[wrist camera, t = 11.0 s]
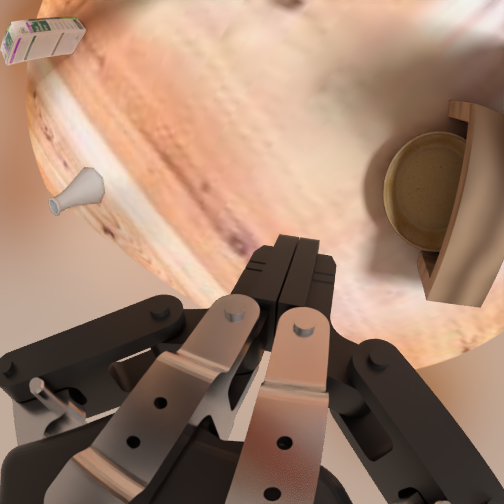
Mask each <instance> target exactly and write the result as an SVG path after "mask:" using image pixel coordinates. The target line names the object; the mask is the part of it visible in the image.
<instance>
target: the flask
mask: <svg viewBox="0 0 504 504" xmlns="http://www.w3.org/2000/svg"><path fill="white" fill-rule="evenodd" d="M104 193H105V191H104V184H103V178H102V176H101V175H100V174H99V173H98V172H97V171H96V170H95V169H94V168H86V167H84V168H83V169H82V170H81V171H80V173H79V174H78V175H77V176H76V177H75V179H74V180H73V181H72V182H71V183H70V184H69V185H68V187H67V188H66V189H65V190H64V191H63V192H61V193H60V194H59V195H58V196H56V197H54V198H49V207H50V210H51V212H52V213H53V214H54V215H57V216H58V215H59V214H60V212H61V211H63V210H65V209H67V208H70V207H72V206H77V205H84V204H93V203H101V201H102V198H103V195H104Z"/></svg>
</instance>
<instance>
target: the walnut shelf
mask: <svg viewBox="0 0 504 504" xmlns="http://www.w3.org/2000/svg"><path fill="white" fill-rule="evenodd" d="M448 116H449V117H452V118H455V119H458V120H461V121H464V122H467V123H468V131H467V139H466V146H465V153H464V159H463V165H462V171H461V176H460V181H459V185H458V190H457V194H456V198H455V202H454V206H453V210H452V214H451V218H450V221H449V225H448V228H447V231H446V235H445V238H444V241H443V244H442V247H441V250H440V253H439V255H436V254H430V253H425V252H421V253H420V256H419V259H418V262H417V266H418V270H419V273H420V277H421V281H422V284H423V288H424V292H425V296H426V300H428V301H435V302H442V303H449V304H457V305H464V306H472V307H481V306H482V304H483V302H484V300H485V298H486V296H487V294H488V292H489V290H490V288H491V286H492V284H493V282H494V280H495V278H496V276H497V274H498V272H499V269H500V267H501V265H502V263H503V260H504V115H503V114H501V113H499V112H496V111H494V110H492V109H489V108H487V107H484V106H482V105H479V104H477V103H470V102H462V101H452V100H449V113H448Z"/></svg>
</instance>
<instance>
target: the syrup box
mask: <svg viewBox="0 0 504 504" xmlns="http://www.w3.org/2000/svg"><path fill="white" fill-rule="evenodd" d="M86 31H87V30H86V29H85V28H84V26H83V25H82V23H81V22H80V21H79V20H78V19H77V17H55V18H39V19H29V20H21V21H14V22H11V23H10V25H9V27H8V29H7V31H6V33H5V35H4V38H3V41H2V45H1V48H0V50H1V52H2V54H3V58H4V60H5V63H6V65H7V66H8V65H12V64H16V63H20V62H25V61H30V60H35V59H41V58H46V57H53V56H60V55H68V54H73V52H74V51H75V49H76V47H77V46H78V44H79V43H80V41H81V39H82V38H83V36H84V34H85V33H86Z"/></svg>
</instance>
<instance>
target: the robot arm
mask: <svg viewBox="0 0 504 504" xmlns="http://www.w3.org/2000/svg"><path fill="white" fill-rule="evenodd" d="M319 242H320V240H314V239H308V238H301V237H300V240H299V237H295V236H288V235H281V234H280V235H279V236H278V239H277V241H276V243H275V245H274V247H273V246H267V245H263V246H262V247H260V248H259V249H257V250H256V251H255V252H254V253H253V255H252V257H251V258H250V261H249V262H248V264H247V266H246V268H245V269H244V271H243V273H242V275H241V276H240V278H239V280H238V282H237V283H236V285H235V287H234V289H233V291H232V292H231V294H230V295H226V296H223V297H221V298H219V299H218V300H216V301H215V302H214V303H213V304H212V306H211V307H210V308H208V309H183V305H182V303H181V301H180V300H179V299H178V298H176V297H174V296H171V295H158V296H154V297H151V298H149V299H146V300H143V301H141V302H138V303H136V304H133V305H130V306H128V307H125V308H123V309H120V310H118V311H115V312H112V313H110V314H107V315H105V316H102V317H100V318H97V319H94V320H92V321H89V322H87V323H84V324H82V325H79V326H76V327H74V328H71V329H69V330H66V331H63V332H61V333H58V334H56V335H53V336H50V337H48V338H45V339H43V340H40V341H37V342H35V343H32V344H30V345H27V346H24V347H22V348H19V349H16V350H14V351H11V352H8V353H6V354H5V355H4V356H2V357H1V358H0V387H1V388H2V389H3V390H4V391H5V392H6V393H7V394H8V395H9V396H10V397H11V398H12V401H13V412H14V422H15V429H16V436H17V443H18V446H17V447H16V448H14V449H12V450H11V451H10V452H9V453H8V455H7V456H6V457H5V459H4V461H3V464H2V468H1V482H0V483H1V484H0V504H353V503H352V502H351V500H350V498H349V496H348V494H347V492H346V491H345V489H344V487H343V486H342V484H341V483H340V482H339V480H338V479H337V478H336V477H335V476H334V475H333V474H332V473H331V472H329V471H328V470H327V469H326V468H324V467H323V466H321V465H320V464H321V458H322V452H323V445H324V438H325V430H326V422H327V413H328V408H330V412H331V414H332V416H333V418H334V419H335V421H336V423H337V424H338V426H339V427H340V429H341V430H342V432H343V434H344V435H345V437H346V439H347V440H348V442H349V443H350V445H351V447H352V448H353V450H354V451H355V453H356V454H357V456H358V458H359V459H360V461H361V462H362V464H363V466H364V467H365V469H366V470H367V472H368V473H369V475H370V476H371V478H372V480H373V481H374V482H375V484H376V485H377V487H378V489H379V490H380V492H381V493H382V495H383V496H384V498H385V500H386V501H387V503H388V504H504V489H503V487H502V485H501V484H500V482H499V481H498V479H497V478H496V477H495V475H494V473H493V472H492V470H491V469H490V467H489V466H488V465H487V463H486V462H485V460H484V459H483V457H482V456H481V455H480V453H479V452H478V451H477V449H476V448H475V446H474V445H473V444H472V442H471V441H470V439H469V438H468V437H467V436H466V434H465V433H464V431H463V430H462V429H461V427H460V426H459V425H458V423H456V421H455V419H454V418H453V417H452V416H451V414H450V413H449V412H448V410H447V409H446V408H445V407H444V405H443V404H442V403H441V401H440V400H439V399H438V398H437V396H436V395H435V394H434V393H433V391H432V390H431V389H430V388H429V387H428V385H427V384H426V383H425V382H424V380H423V379H422V378H421V377H420V376H419V374H418V373H417V372H416V371H415V369H414V368H413V367H412V366H411V365H410V363H409V362H408V361H407V360H406V359H405V358H404V356H403V355H402V354H401V353H400V352H399V350H398V349H397V348H396V347H395V346H393V345H392V344H391V343H389V342H387V341H384V340H381V339H369V340H366V341H363V342H361V343H360V344H359V345H358V344H356V343H354V342H352V341H350V340H347V339H346V338H344V337H342V336H341V335H339V334H338V333H337V332H336V330H335V329H334V328H333V326H332V324H331V320H330V313H331V306H332V299H333V291H334V282H335V273H336V264H335V262H334V260H333V258H332V256H329V255H323V254H318V250H319ZM148 348H151V350H149V351H147V352H144V353H142V354H139V355H137V356H135V357H132V358H130V359H127V360H125V361H122V362H116V361H118V360H121V359H123V358H125V357H128V356H130V355H133V354H136V353H138V352H140V351H143V350H145V349H148ZM264 350H265V351H270V352H271V356H270V360H269V364H268V368H267V372H266V376H265V379H264V382H263V383H262V384H261V386H260V389H259V392H258V396H257V399H256V403H255V406H254V410H253V414H252V417H251V421H250V424H249V428H248V431H247V435H246V438H245V441H244V442H240V441H227V440H228V438H229V435H230V433H231V431H232V428H233V424H234V420H235V417H236V414H237V412H238V410H239V408H240V406H241V404H242V402H243V400H244V398H245V396H246V394H247V392H248V390H249V388H250V386H251V384H252V382H253V380H254V378H255V376H256V374H257V372H258V369H259V363H260V361H261V359H262V356H263V353H264ZM119 406H120V407H119ZM116 407H119V409H118V410H117V411H116V413H113V414H111V415H108V416H106V417H103V418H101V419H98V420H95V421H93V422H90V423H87V422H86V421H85V419H86V418H89V417H92V416H94V415H97V414H100V413H103V412H106V411H109V410H111V409H114V408H116Z"/></svg>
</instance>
